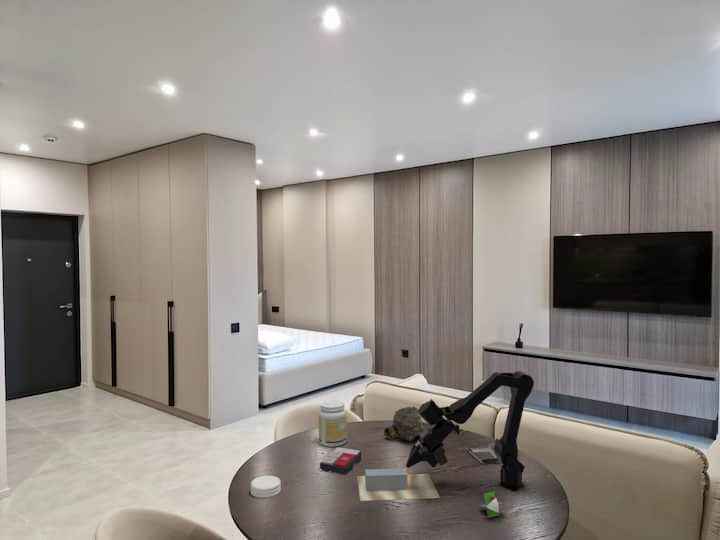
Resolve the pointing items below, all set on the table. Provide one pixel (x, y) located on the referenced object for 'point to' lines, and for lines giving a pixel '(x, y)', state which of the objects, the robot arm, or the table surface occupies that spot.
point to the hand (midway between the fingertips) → (406, 466)
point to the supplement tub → (332, 424)
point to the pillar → (386, 479)
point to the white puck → (265, 486)
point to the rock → (405, 424)
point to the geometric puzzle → (491, 504)
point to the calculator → (341, 460)
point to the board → (417, 489)
